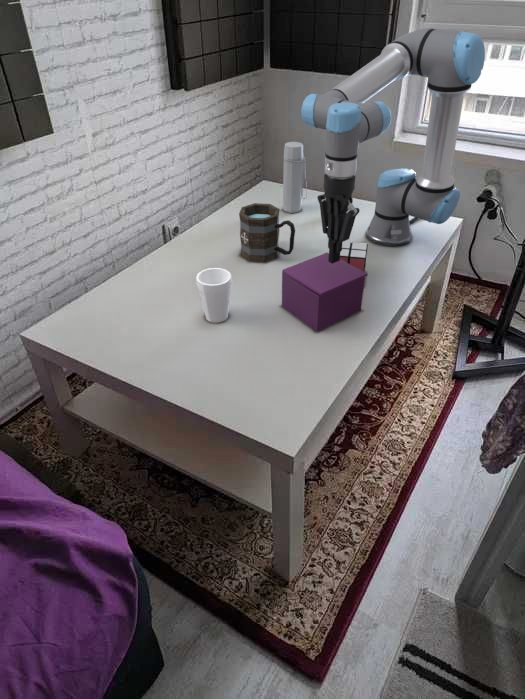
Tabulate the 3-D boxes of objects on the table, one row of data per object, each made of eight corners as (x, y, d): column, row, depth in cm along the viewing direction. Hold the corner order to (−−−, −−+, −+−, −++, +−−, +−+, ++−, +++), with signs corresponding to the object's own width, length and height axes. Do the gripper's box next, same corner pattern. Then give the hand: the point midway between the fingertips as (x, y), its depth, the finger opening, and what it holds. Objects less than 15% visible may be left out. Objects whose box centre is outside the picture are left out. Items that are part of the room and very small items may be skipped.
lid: (367, 275, 146) (367, 273, 145) (321, 296, 138) (321, 293, 138) (327, 254, 157) (327, 252, 156) (282, 272, 149) (282, 269, 149)
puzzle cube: (362, 287, 163) (366, 258, 157) (330, 284, 165) (332, 255, 159) (364, 271, 171) (368, 242, 165) (333, 268, 173) (335, 240, 167)
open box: (360, 310, 154) (365, 276, 147) (316, 331, 146) (319, 296, 139) (324, 288, 164) (326, 254, 157) (281, 306, 156) (282, 272, 149)
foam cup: (238, 310, 155) (236, 270, 147) (226, 328, 148) (223, 288, 140) (208, 304, 157) (204, 265, 149) (194, 322, 150) (190, 282, 142)
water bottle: (281, 213, 206) (282, 147, 191) (284, 205, 212) (285, 140, 197) (305, 215, 205) (307, 148, 190) (307, 206, 211) (310, 141, 196)
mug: (232, 256, 180) (230, 214, 171) (253, 240, 189) (252, 199, 180) (283, 271, 172) (284, 228, 163) (303, 253, 181) (304, 211, 172)
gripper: (310, 170, 131) (307, 256, 146) (347, 186, 123) (340, 275, 137) (333, 163, 134) (328, 247, 149) (370, 178, 126) (361, 266, 141)
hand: (334, 261), depth 143 cm, fingers closed
